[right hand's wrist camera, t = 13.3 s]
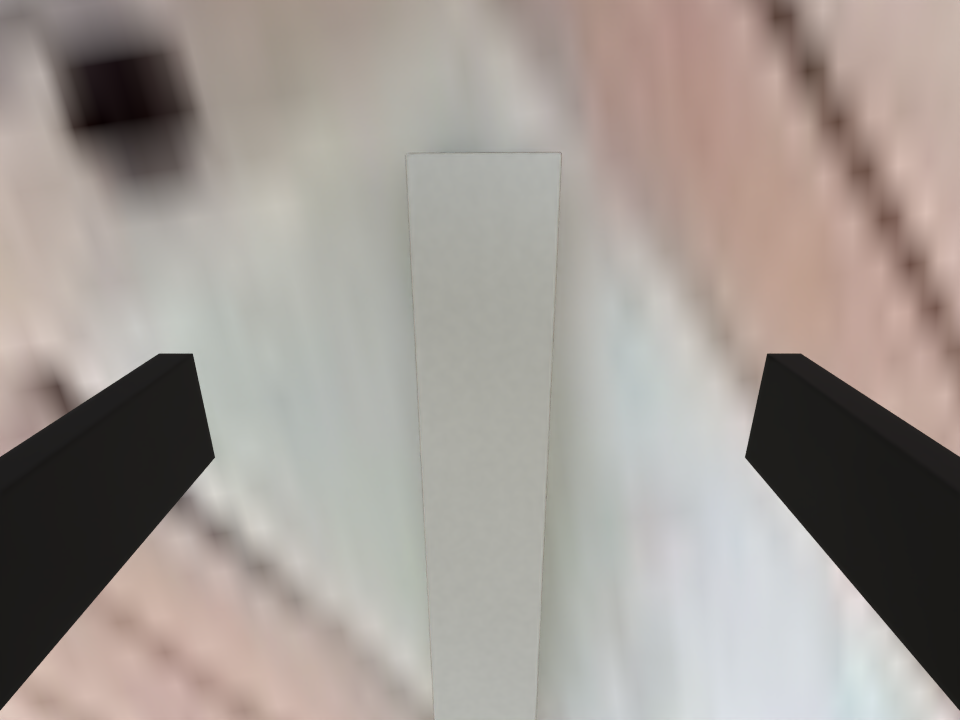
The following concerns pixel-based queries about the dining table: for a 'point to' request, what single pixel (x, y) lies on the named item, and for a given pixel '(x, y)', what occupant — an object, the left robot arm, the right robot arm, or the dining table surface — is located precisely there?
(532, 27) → the dining table surface
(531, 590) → the beam
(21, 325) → the dining table surface
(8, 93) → the dining table surface
